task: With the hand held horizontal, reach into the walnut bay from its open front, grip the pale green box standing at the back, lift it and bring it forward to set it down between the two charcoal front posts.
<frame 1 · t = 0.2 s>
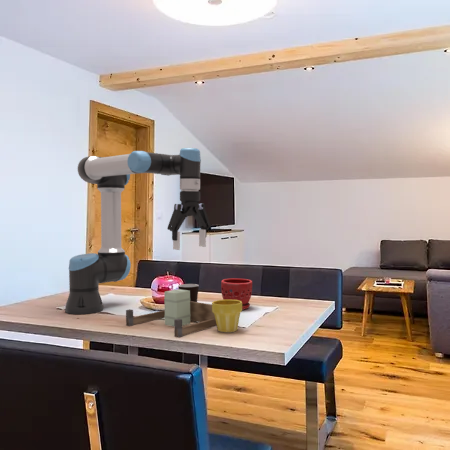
hand: (189, 248, 171), 27 cm above the table, tool pointing down, fingers open, 13 cm apart
pale green box: (177, 324, 167), on the table
plant pot 2: (236, 309, 194), on the table
bay: (172, 325, 165), on the table
coffee mug: (189, 308, 195), on the table
plant pot: (227, 330, 157), on the table
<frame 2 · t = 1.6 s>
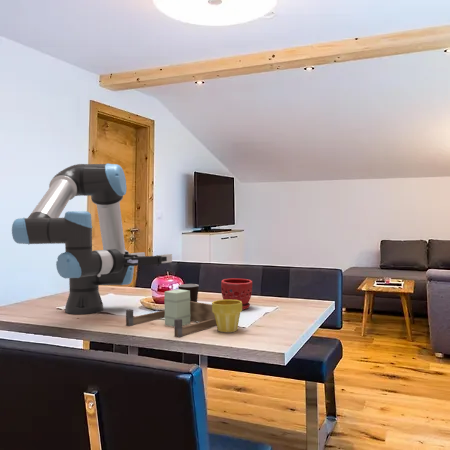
hand: (157, 257, 159), 25 cm above the table, tool horizontal, fingers open, 13 cm apart
nothing on the table moved.
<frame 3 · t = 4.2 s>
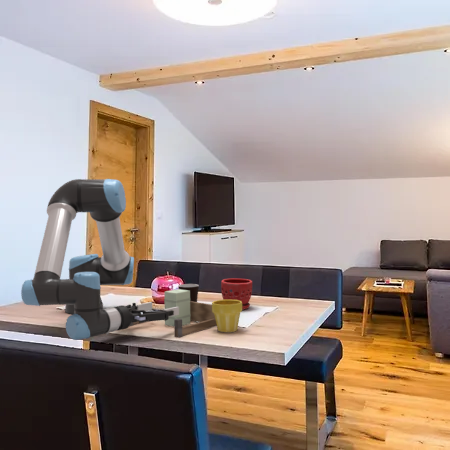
hand: (164, 308, 161), 7 cm above the table, tool horizontal, fingers open, 13 cm apart
nothing on the table moved.
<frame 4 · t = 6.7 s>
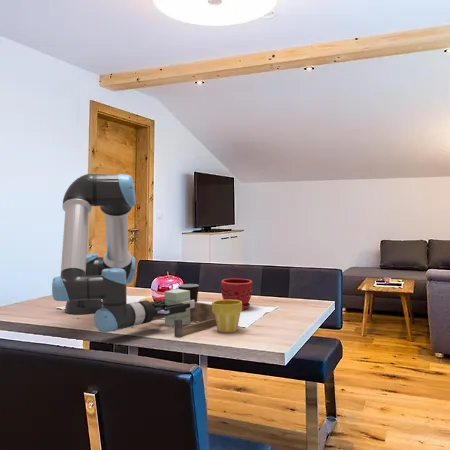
hand: (187, 302, 170), 7 cm above the table, tool horizontal, fingers closed on pale green box, 6 cm apart
pale green box: (177, 324, 167), on the table, touching gripper
everything else where it was.
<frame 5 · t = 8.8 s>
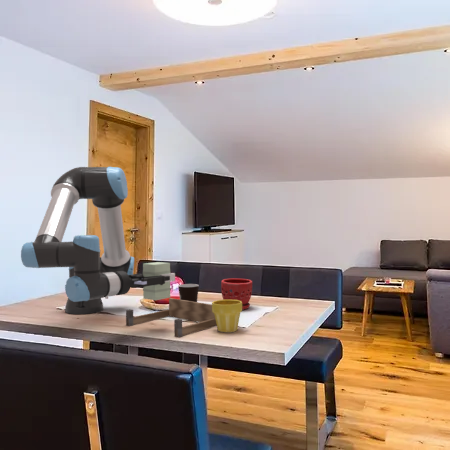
hand: (167, 276, 163), 18 cm above the table, tool horizontal, fingers closed on pale green box, 6 cm apart
pale green box: (156, 297, 159), point 11 cm above the table, touching gripper
everything else where it was.
when the fingers open (8 cm above the table, at t = 10.9 s): pale green box stays where it is, on the table.
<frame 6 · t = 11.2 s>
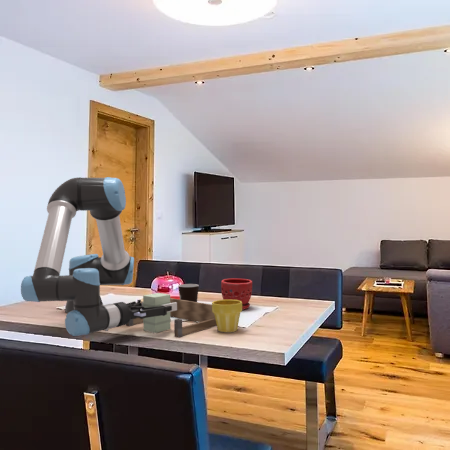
hand: (166, 304, 162), 8 cm above the table, tool horizontal, fingers open, 9 cm apart
pale green box: (157, 329, 159), on the table
everything else where it was.
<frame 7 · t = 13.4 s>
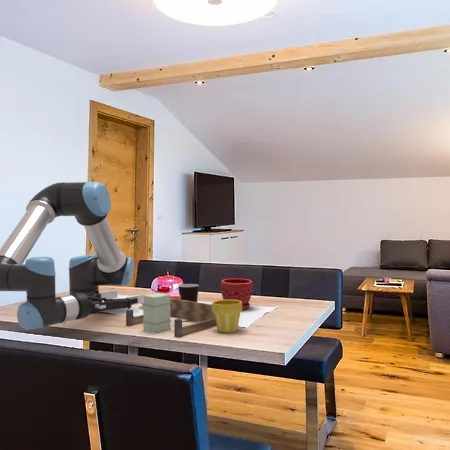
hand: (129, 295, 152), 13 cm above the table, tool horizontal, fingers open, 13 cm apart
nothing on the table moved.
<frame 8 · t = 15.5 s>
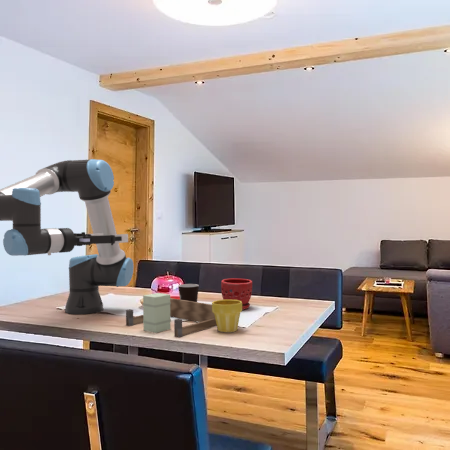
hand: (114, 237, 157), 32 cm above the table, tool horizontal, fingers open, 13 cm apart
nothing on the table moved.
at the end: pale green box inside the target area (0.3 cm from its centre), on the table; pale green box tilted 0°; the gripper is holding nothing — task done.
